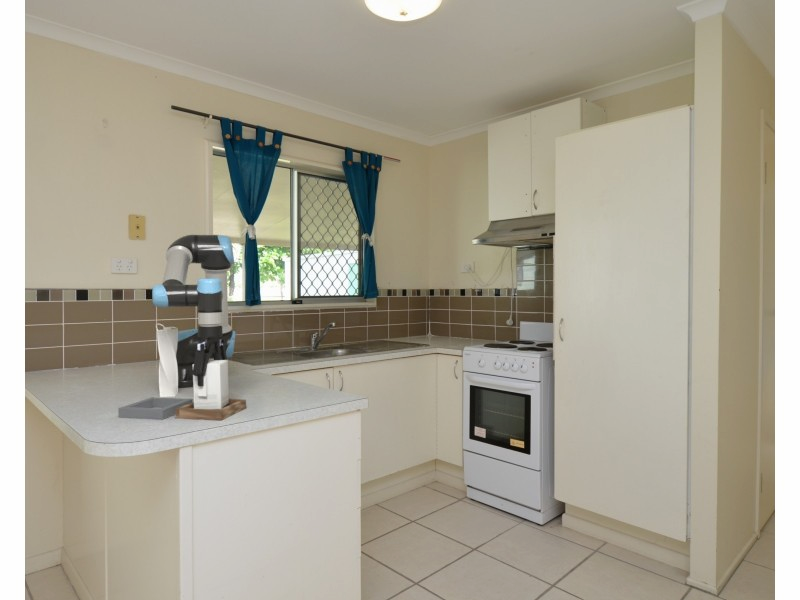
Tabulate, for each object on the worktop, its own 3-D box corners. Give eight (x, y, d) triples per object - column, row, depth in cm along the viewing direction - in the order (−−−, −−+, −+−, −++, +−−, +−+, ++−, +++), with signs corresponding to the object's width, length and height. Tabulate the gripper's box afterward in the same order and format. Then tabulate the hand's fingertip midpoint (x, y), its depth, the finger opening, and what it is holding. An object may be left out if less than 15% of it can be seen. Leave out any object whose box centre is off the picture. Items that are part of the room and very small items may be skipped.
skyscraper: (155, 398, 191) (153, 324, 190) (158, 394, 198) (157, 322, 198) (177, 396, 193) (176, 323, 192) (180, 392, 201) (179, 322, 200)
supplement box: (229, 403, 173) (228, 359, 172) (221, 409, 164) (220, 363, 163) (202, 403, 172) (201, 359, 172) (192, 410, 164) (191, 363, 163)
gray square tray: (151, 405, 179) (151, 397, 179) (192, 407, 176) (192, 398, 176) (118, 417, 164) (118, 408, 163) (162, 419, 160) (162, 410, 160)
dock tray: (203, 406, 178) (203, 397, 177) (246, 408, 174) (245, 399, 174) (175, 418, 162) (175, 409, 162) (221, 420, 159) (220, 411, 159)
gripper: (218, 322, 179) (219, 385, 180) (179, 328, 157) (180, 399, 158) (237, 322, 178) (239, 386, 178) (201, 328, 156) (202, 400, 156)
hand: (211, 392), depth 168 cm, fingers closed on supplement box, 10 cm apart
